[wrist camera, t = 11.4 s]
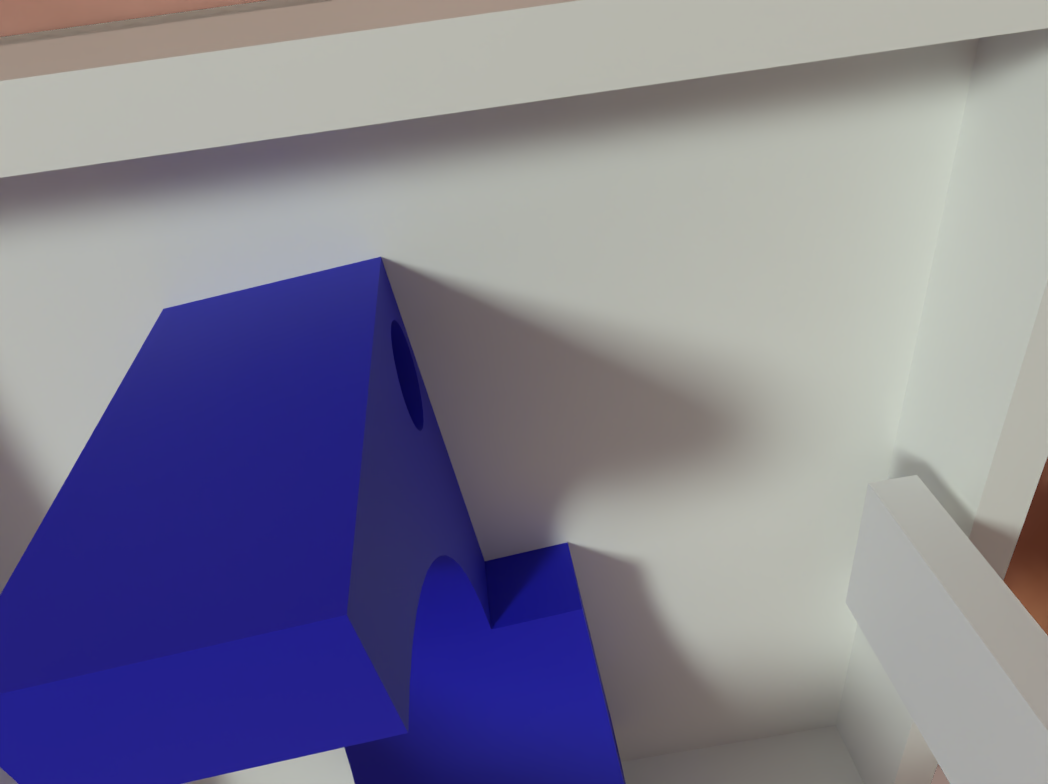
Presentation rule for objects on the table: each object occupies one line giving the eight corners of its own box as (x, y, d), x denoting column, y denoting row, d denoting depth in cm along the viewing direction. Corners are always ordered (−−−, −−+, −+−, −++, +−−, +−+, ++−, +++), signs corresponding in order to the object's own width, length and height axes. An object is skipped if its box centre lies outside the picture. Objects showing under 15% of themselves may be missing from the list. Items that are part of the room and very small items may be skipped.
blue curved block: (613, 729, 17) (691, 1080, 12) (415, 773, 17) (413, 1138, 12) (490, 229, 10) (555, 566, 5) (163, 308, 10) (-66, 710, 6)
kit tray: (1030, -106, 10) (1243, -93, 7) (849, 709, 19) (913, 834, 17) (-398, 92, 9) (-703, 179, 7) (156, 826, 19) (116, 972, 16)
